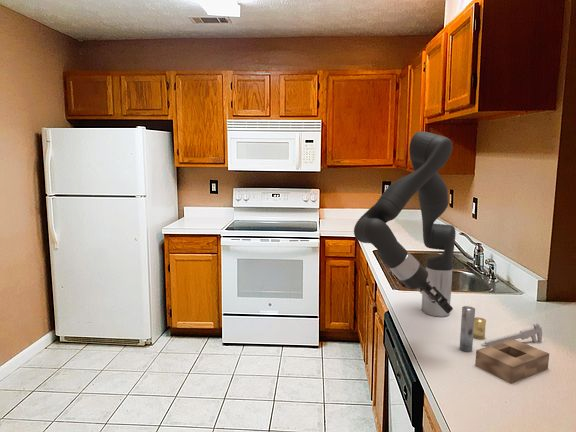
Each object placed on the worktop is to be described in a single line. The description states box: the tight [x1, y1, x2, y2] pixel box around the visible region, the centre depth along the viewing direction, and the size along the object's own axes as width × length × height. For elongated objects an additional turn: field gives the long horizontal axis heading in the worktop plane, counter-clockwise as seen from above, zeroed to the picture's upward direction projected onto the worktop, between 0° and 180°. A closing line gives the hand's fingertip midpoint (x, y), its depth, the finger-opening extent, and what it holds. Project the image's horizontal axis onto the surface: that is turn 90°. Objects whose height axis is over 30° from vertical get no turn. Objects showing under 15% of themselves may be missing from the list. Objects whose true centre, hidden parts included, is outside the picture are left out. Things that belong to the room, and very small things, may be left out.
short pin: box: [473, 316, 487, 340], centre depth 140 cm, size 4×4×6 cm
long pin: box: [458, 305, 476, 353], centre depth 131 cm, size 4×4×13 cm
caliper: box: [480, 323, 543, 347], centre depth 135 cm, size 20×1×6 cm, turn 100°
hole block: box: [474, 339, 550, 384], centre depth 121 cm, size 11×16×4 cm
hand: (442, 305), depth 128 cm, fingers open, 8 cm apart
